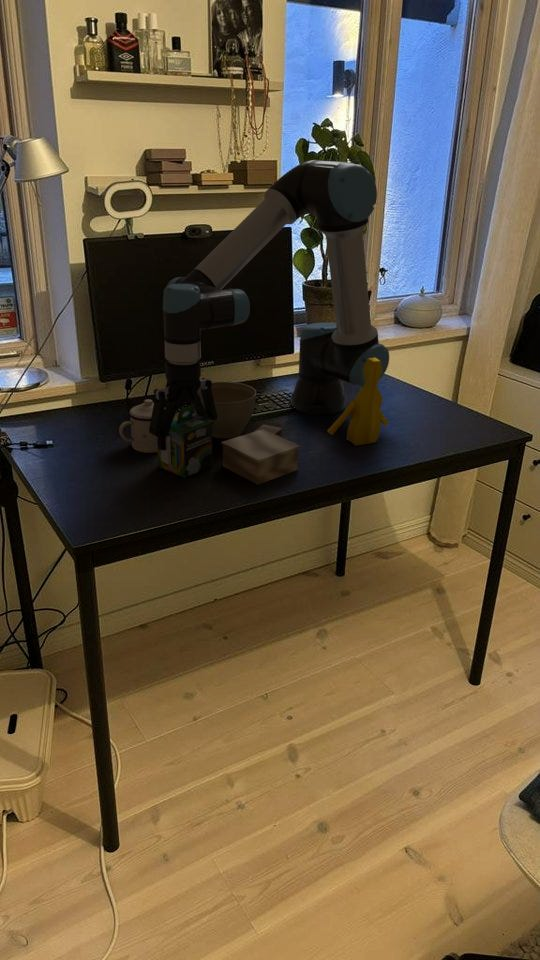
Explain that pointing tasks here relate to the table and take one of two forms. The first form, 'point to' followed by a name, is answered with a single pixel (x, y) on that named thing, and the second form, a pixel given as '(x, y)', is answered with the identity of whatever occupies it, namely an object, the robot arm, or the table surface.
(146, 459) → the table surface
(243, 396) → the planter bowl
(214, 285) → the robot arm
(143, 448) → the teacup with lid
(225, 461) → the plinth
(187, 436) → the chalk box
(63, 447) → the table surface
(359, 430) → the figure statuette
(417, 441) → the table surface
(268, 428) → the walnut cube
